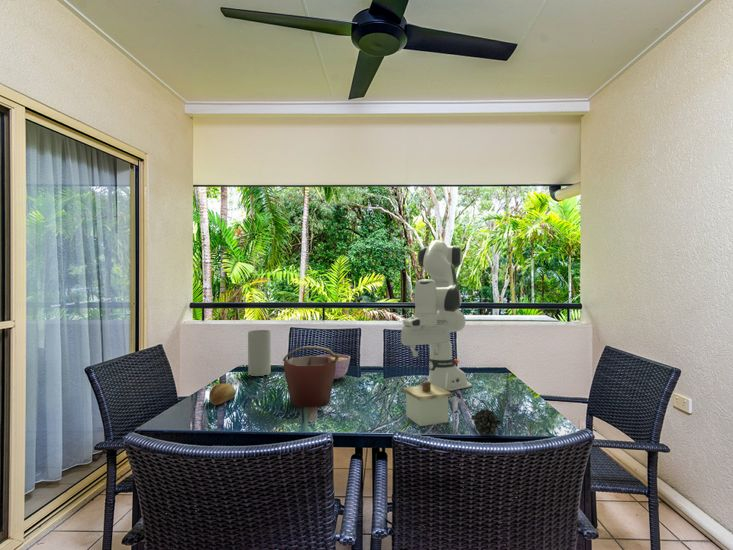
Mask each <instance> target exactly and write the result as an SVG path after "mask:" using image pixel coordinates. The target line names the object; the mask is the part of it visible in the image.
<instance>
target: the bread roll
mask: <svg viewBox="0 0 733 550" xmlns="http://www.w3.org/2000/svg"><path fill="white" fill-rule="evenodd" d="M235 396H236V389H235V387H234V386H233V385H231V384H230V383H223V382H222V383H218V384H214V386H213V387H211V389H210V391H209V401H210V403H211V404H212V405H213V404H214V406H219V405H221V404H224V403H226V402H228V401H230V400H232V399H233V398H234V397H235ZM218 404H219V405H218Z"/></svg>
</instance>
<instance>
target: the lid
mask: <svg viewBox="0 0 733 550" xmlns="http://www.w3.org/2000/svg"><path fill="white" fill-rule="evenodd" d="M402 392H404V393H405V394H406V393H407V394H409V395H411V396H412V397H414V398H416V399H417V400H426V399H434V398H442V397H448V398H450V397H452V395H453V394H452V392H451V391H448V390H444V389H442V388H440V387H438V386H436V385H434V384H432V385H431V382H429V381H428V380H423V381H421V385H414V386H407V387H402Z"/></svg>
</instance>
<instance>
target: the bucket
mask: <svg viewBox="0 0 733 550" xmlns="http://www.w3.org/2000/svg"><path fill="white" fill-rule="evenodd" d="M303 349H315V350H321V351H325V352H327V354H330V355H331V356H335V359H334V360H333V359H332V358H331V357H321V356H319V355H306V356H299V357H290V355H292V354H293V353H295V352H297V351H300V350H303ZM336 354H337V353H334V352H333V351H332V350H331V349H330V348H327V347H323V346H317V345H305V346H301V347H298V348H295V349H293V350H292V351H289V352H288V353H287V354H286V355H285V356H284V357H283V358H282V361H283V371H284V378H285V380H286V386H287V390H288V396H289V400H290V404H291V405H292V406H295V407H298V408H300V409H306V408H307V409H309V408H310V409H311V408H320V407H324V406H325V405H327V404H330V401H331V395H332V389H333V384H334V381H335V380H334V374H335V369H336V362H337V360H338V359H339V357H338V356H337V355H336ZM288 357H290V358H289V359H287V358H288Z"/></svg>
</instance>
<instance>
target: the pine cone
mask: <svg viewBox="0 0 733 550" xmlns="http://www.w3.org/2000/svg"><path fill="white" fill-rule="evenodd" d="M470 418H471V420H473V421H474V422H473V423H474V425H475V428H476V429H477V430H478V431H479V433H480V434H483V435H487V434H489V435H490V434H492V435H495V434H496V433H497V431H496V430H497V429H498V428H499V425H501V420H500V419H499V418H498V417H497V416H496V415H495V412H494V410H489V409H487V408H486V409H480V410H479V411H477V412H475V414H473V415H472V416H471V417H470Z"/></svg>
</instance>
